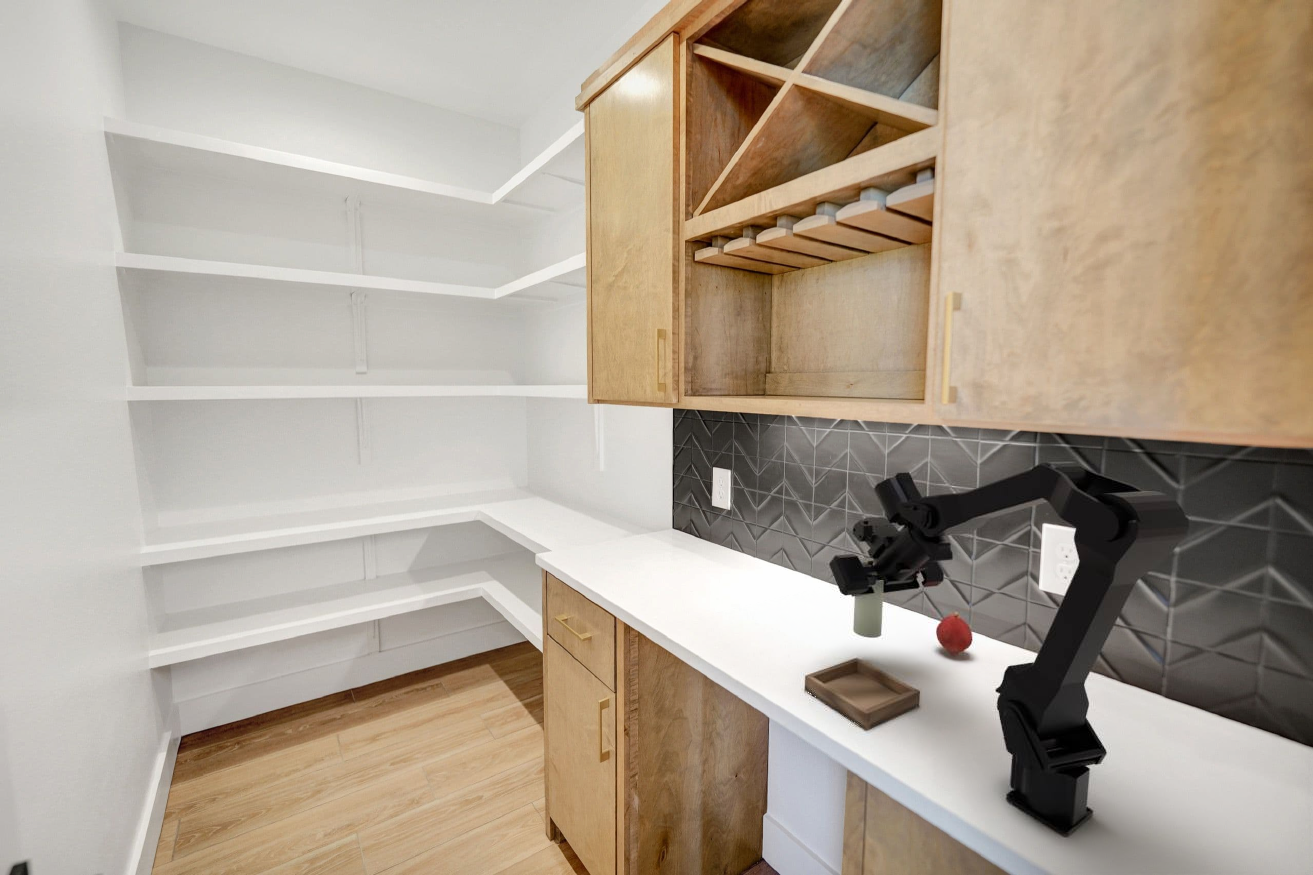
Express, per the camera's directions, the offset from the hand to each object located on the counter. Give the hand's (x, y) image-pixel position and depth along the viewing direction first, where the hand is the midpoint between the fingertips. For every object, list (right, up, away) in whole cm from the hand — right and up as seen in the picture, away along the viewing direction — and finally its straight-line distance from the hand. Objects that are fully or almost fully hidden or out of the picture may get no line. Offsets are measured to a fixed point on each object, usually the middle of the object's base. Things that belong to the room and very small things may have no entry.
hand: (863, 592), depth 99 cm
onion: (+18, -12, +4) cm, 22 cm away
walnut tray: (-5, -14, -11) cm, 18 cm away
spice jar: (0, -7, -1) cm, 7 cm away
